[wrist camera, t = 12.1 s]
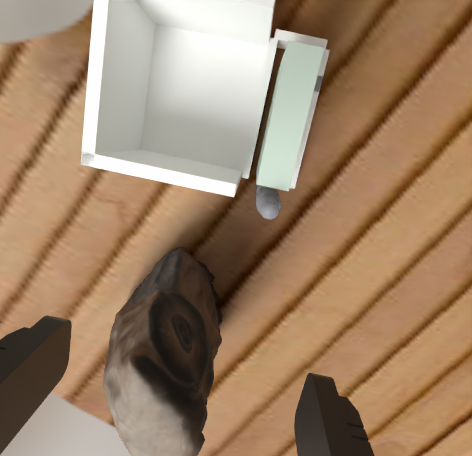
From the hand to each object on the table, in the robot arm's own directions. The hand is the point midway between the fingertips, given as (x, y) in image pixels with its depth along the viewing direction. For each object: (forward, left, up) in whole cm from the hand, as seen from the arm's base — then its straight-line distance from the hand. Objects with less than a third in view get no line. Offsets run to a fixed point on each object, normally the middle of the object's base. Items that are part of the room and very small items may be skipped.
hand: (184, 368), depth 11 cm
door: (-3, -9, -28) cm, 30 cm away
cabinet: (+3, -10, -28) cm, 30 cm away
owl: (+5, +13, -28) cm, 32 cm away
